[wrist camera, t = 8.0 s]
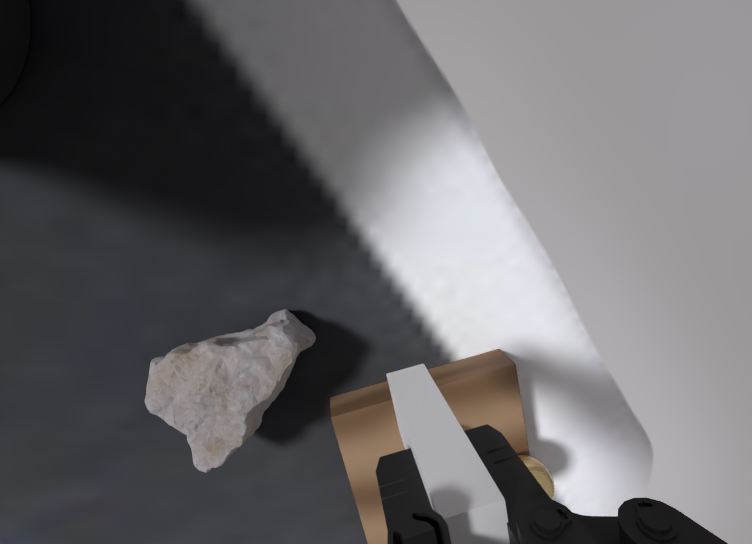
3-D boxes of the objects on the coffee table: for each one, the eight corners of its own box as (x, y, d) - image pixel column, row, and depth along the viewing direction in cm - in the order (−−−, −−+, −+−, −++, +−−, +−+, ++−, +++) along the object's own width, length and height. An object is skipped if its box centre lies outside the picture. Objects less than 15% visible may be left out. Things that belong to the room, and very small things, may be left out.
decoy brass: (487, 452, 27) (511, 490, 24) (532, 438, 27) (563, 473, 24) (494, 491, 28) (519, 533, 24) (538, 477, 28) (568, 517, 25)
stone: (248, 265, 24) (227, 287, 19) (336, 344, 26) (340, 386, 21) (144, 367, 25) (92, 419, 19) (237, 438, 27) (215, 504, 21)
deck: (330, 397, 27) (330, 417, 25) (498, 349, 28) (515, 363, 26) (394, 619, 32) (400, 654, 30) (535, 571, 33) (551, 601, 31)
